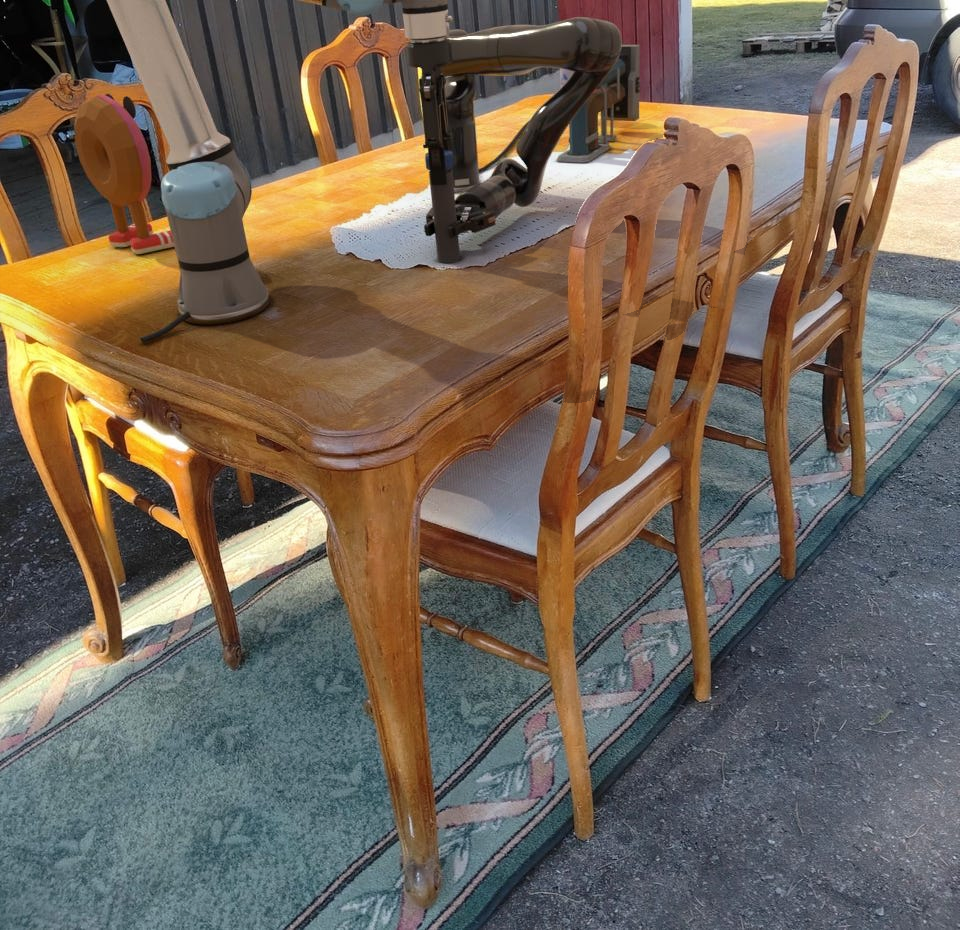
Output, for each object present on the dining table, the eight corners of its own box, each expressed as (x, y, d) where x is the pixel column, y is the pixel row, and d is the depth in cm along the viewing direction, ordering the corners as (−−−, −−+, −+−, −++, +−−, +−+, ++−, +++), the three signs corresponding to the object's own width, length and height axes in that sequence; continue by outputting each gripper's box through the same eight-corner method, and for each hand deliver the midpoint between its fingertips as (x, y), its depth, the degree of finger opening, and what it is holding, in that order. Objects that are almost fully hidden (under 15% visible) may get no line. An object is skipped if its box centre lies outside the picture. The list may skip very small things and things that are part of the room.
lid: (434, 163, 174) (432, 149, 173) (458, 164, 172) (457, 150, 171) (421, 170, 170) (419, 156, 169) (446, 171, 169) (445, 157, 167)
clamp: (587, 162, 233) (585, 68, 223) (554, 161, 237) (551, 68, 226) (639, 130, 259) (639, 44, 248) (608, 129, 263) (607, 44, 252)
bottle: (435, 257, 181) (425, 157, 172) (457, 254, 182) (448, 154, 173) (439, 264, 178) (429, 162, 168) (462, 261, 179) (453, 159, 169)
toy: (192, 246, 198) (156, 92, 183) (148, 260, 192) (107, 102, 177) (139, 230, 212) (102, 85, 196) (96, 243, 205) (54, 95, 190)
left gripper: (443, 45, 153) (456, 193, 165) (456, 30, 168) (467, 166, 180) (396, 48, 154) (412, 195, 165) (414, 33, 169) (428, 168, 181)
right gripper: (446, 183, 189) (402, 208, 176) (512, 187, 183) (472, 213, 170) (449, 221, 193) (407, 248, 180) (514, 226, 187) (475, 255, 174)
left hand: (441, 180), depth 173 cm, fingers closed on lid, 5 cm apart
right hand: (438, 231), depth 175 cm, fingers closed on bottle, 4 cm apart
